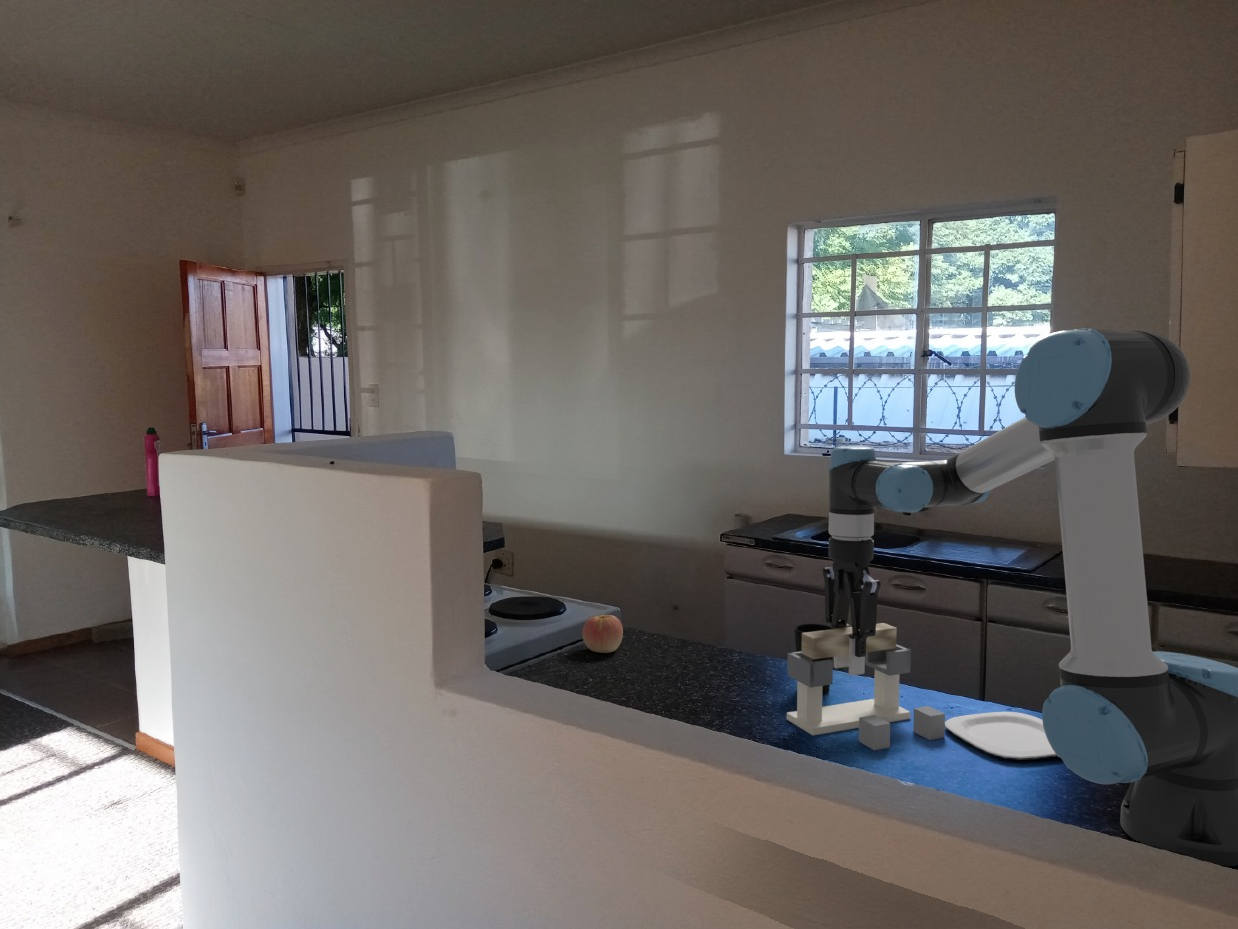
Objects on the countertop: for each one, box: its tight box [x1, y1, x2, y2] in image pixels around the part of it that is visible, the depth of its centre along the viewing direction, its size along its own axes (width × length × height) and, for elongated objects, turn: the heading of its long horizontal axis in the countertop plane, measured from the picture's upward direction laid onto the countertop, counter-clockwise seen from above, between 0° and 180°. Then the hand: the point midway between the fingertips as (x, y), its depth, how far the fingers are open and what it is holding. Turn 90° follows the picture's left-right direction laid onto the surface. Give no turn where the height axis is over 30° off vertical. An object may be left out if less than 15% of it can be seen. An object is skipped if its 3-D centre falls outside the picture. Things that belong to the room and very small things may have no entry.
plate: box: [945, 711, 1058, 761], centre depth 147 cm, size 18×18×2 cm
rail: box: [802, 622, 898, 659], centre depth 156 cm, size 17×4×4 cm, turn 112°
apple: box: [582, 614, 624, 654], centre depth 198 cm, size 9×9×8 cm
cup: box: [793, 623, 834, 696], centre depth 171 cm, size 8×8×12 cm
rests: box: [858, 705, 946, 751], centre depth 148 cm, size 4×14×4 cm, turn 112°
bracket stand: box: [786, 643, 912, 736], centre depth 156 cm, size 8×21×12 cm, turn 112°
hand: (848, 670), depth 156 cm, fingers closed on rail, 4 cm apart
